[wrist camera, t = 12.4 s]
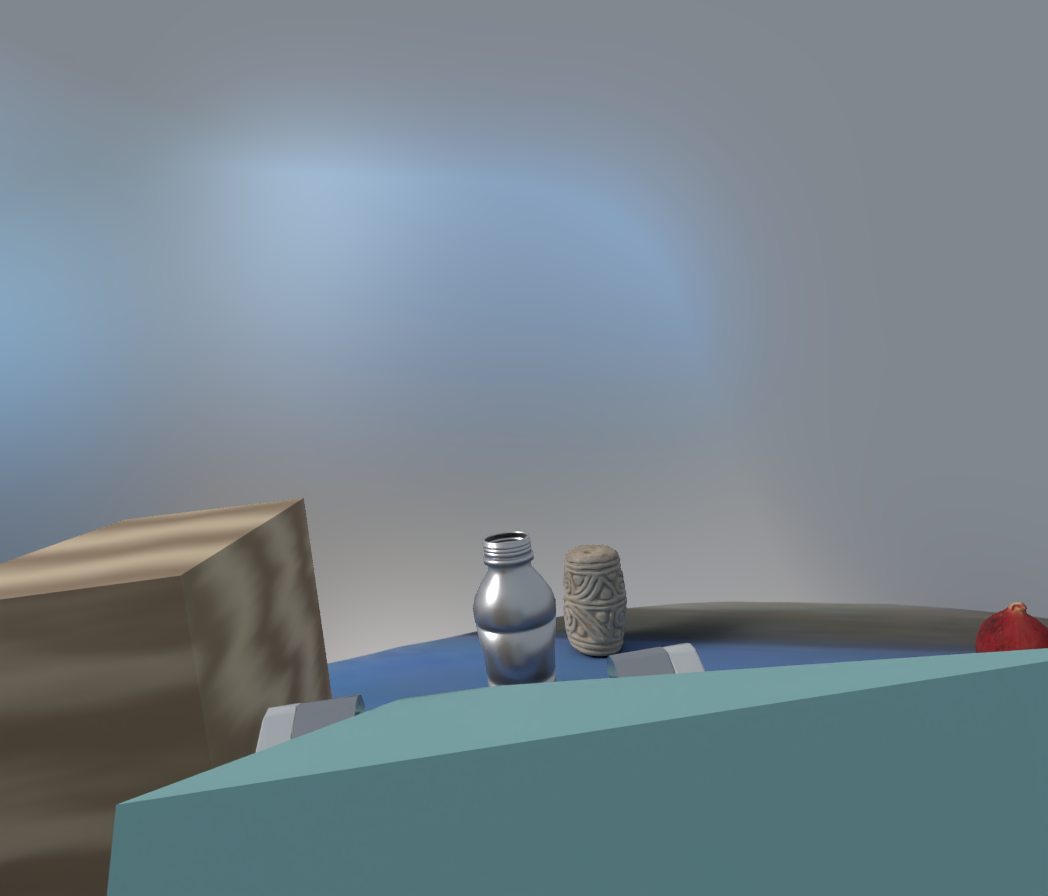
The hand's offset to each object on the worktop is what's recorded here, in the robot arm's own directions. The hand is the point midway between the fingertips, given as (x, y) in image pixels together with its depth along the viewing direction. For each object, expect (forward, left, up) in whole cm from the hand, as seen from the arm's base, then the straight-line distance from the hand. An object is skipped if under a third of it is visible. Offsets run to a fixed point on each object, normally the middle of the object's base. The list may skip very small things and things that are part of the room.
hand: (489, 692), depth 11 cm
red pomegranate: (+57, -13, -26) cm, 64 cm away
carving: (+52, +26, -26) cm, 64 cm away
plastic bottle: (+28, +20, -26) cm, 43 cm away
